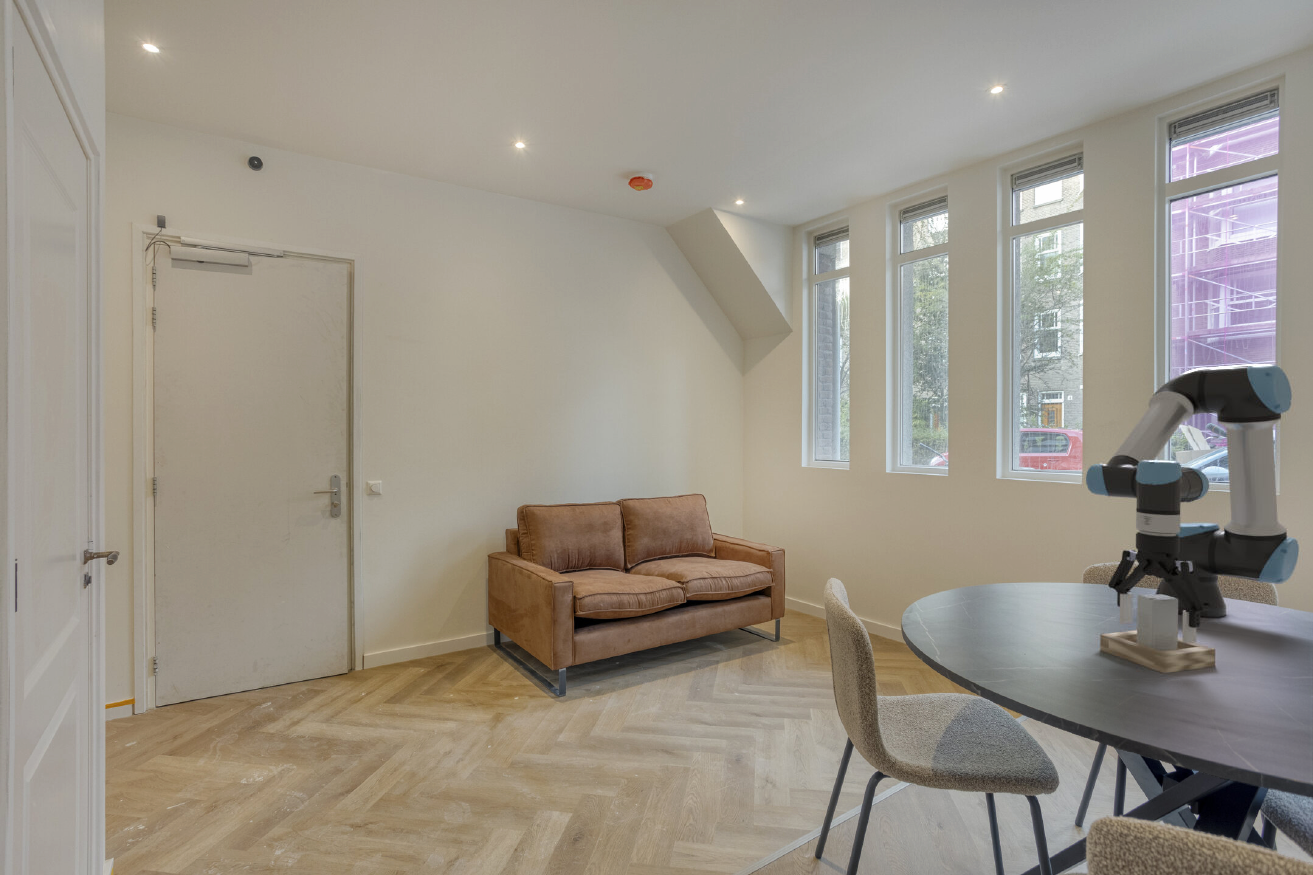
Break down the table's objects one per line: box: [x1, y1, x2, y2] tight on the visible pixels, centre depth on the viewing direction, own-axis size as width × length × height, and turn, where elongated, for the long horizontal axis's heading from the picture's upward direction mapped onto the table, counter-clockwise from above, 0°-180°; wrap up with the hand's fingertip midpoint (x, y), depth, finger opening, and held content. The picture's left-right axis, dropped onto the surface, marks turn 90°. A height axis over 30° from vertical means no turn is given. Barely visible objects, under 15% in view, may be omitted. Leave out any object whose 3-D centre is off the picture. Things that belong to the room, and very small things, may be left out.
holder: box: [1099, 629, 1216, 674], centre depth 142 cm, size 14×14×4 cm
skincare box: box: [1136, 594, 1179, 652], centre depth 142 cm, size 6×4×12 cm
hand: (1156, 632), depth 142 cm, fingers open, 13 cm apart
